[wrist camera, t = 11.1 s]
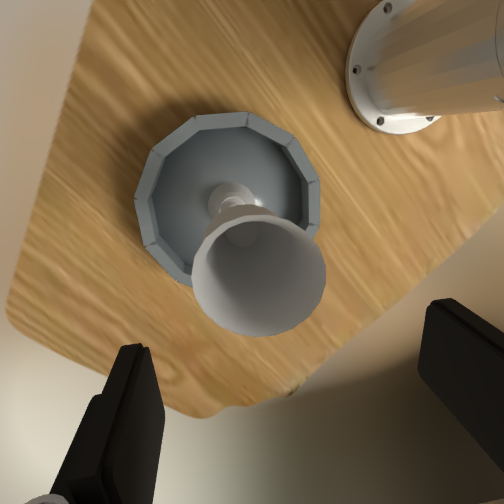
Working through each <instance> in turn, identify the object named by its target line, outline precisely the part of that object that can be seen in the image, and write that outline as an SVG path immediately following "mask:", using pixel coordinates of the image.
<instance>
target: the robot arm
mask: <svg viewBox="0 0 504 504" xmlns="http://www.w3.org/2000/svg"><path fill="white" fill-rule="evenodd" d="M383 9H384V10H385V12H384V10H383ZM353 69H354V70H355V73H353ZM345 80H346V89H347V93H348V97H349V100H350V103H351V105H352V107H353V109H354V111H355V113H356V114H357V115H358V117H359V118H360V119H361V120H362V121H363V122H364V123H365V124H366V125H367V126H369V127H370V128H372V129H374V130H375V131H377V132H380V133H384V134H388V135H404V134H411V133H414V132H417V131H420V130H422V129H424V128H426V127H428V126H430V125H431V124H432V123H434V122H435V121H436V120H437V119H439V118H440V117H441V116H444V115H455V114H466V113H478V112H489V111H500V110H504V0H383V1H381V2H380V3H379V4H378V5H377V6H375V7H374V8H373V9H372V10H371V11H370V12H369V13H368V15H367V16H366V17H365V18H364V19H363V21H362V22H361V24H360V25H359V27H358V29H357V31H356V32H355V34H354V37H353V39H352V42H351V44H350V47H349V51H348V55H347V59H346V69H345ZM377 120H378V123H377V122H376V121H377ZM418 372H419V375H420V377H421V378H422V379H423V380H424V382H425V383H426V384H427V385H428V386H429V387H430V389H431V390H432V391H433V392H434V393H435V394H436V395H437V397H438V398H439V399H440V400H441V401H442V402H443V403H444V405H445V406H446V407H447V408H448V409H449V410H450V411H451V413H452V414H453V415H454V416H455V417H456V418H457V420H458V421H459V422H460V423H461V424H462V425H463V426H464V428H465V429H466V430H467V431H468V432H469V433H470V435H471V436H472V437H473V438H474V439H475V440H476V441H477V443H478V444H479V445H480V446H481V447H482V448H483V449H484V450H485V452H486V453H487V454H488V455H489V456H490V458H491V459H492V460H493V461H494V462H495V463H496V464H497V466H498V467H499V468H500V469H501V470H502V471H503V472H504V333H503V332H501V331H500V330H499V329H497V328H496V327H494V326H493V325H491V324H490V323H488V322H487V321H485V320H484V319H482V318H481V317H479V316H478V315H476V314H475V313H473V312H472V311H471V310H469V309H468V308H466V307H465V306H463V305H462V304H460V303H459V302H457V301H456V300H454V299H452V298H447V299H440V300H434V301H432V302H431V303H430V305H429V306H428V307H427V309H426V316H425V322H424V329H423V335H422V342H421V349H420V355H419V362H418ZM164 424H165V410H164V406H163V402H162V398H161V394H160V390H159V386H158V382H157V378H156V374H155V370H154V366H153V362H152V358H151V354H150V350H149V348H148V347H143V345H142V344H141V343H138V344H131V345H124V346H121V348H120V350H119V352H118V355H117V357H116V360H115V362H114V365H113V367H112V369H111V372H110V374H109V377H108V379H107V382H106V384H105V386H104V389H103V391H102V394H98V395H95V396H94V397H93V398H92V399H91V401H90V403H89V405H88V407H87V409H86V412H85V414H84V416H83V418H82V421H81V423H80V425H79V427H78V430H77V432H76V434H75V436H74V439H73V441H72V443H71V445H70V448H69V450H68V452H67V455H66V457H65V459H64V461H63V464H62V466H61V468H60V470H59V473H58V475H57V477H56V479H55V482H54V484H53V486H52V488H51V491H50V493H49V494H48V495H42V496H39V497H37V498H34V499H32V500H30V501H28V502H27V503H25V504H152V502H153V497H154V490H155V483H156V477H157V470H158V464H159V457H160V450H161V444H162V437H163V431H164ZM482 504H504V499H501V500H496V501H491V502H487V503H482Z"/></svg>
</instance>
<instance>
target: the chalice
mask: <svg viewBox="0 0 504 504" xmlns="http://www.w3.org/2000/svg"><path fill="white" fill-rule="evenodd" d="M208 210H209V214H210V216H211V218H212V220H211V222H210V224H209V225H208V227H207V229H206V230H205V233H204V239H203V243H202V245H201V247H200V248H199V250H198V252H197V253H196V255H195V257H194V263H193V269H192V275H191V279H192V284H193V289H194V294H195V297H196V299H197V301H198V302H199V304H200V306H201V307H202V309H203V311H204V313H205V314H207V315H208V316H209V317H210V318H211V319H212V320H213V321H214V322H216V323H217V324H218V325H219V326H221V327H223V328H225V329H227V330H229V331H232V332H234V333H236V334H241V335H246V336H252V337H262V336H272V335H277V334H280V333H282V332H285V331H288V330H290V329H293V328H294V327H296V326H297V325H298V324H300V323H301V322H302V321H304V320H305V319H306V318H308V317H309V316H310V314H311V313H312V312H313V310H314V309H315V308H316V306H317V305H318V304H319V302H320V300H321V297H322V294H323V291H324V288H325V285H326V265H325V262H324V260H323V257H322V254H321V251H320V249H319V247H318V245H317V244H316V243H315V242H314V241H313V239H312V238H311V237H310V236H309V234H308V233H307V232H306V231H304V230H303V229H301V228H300V227H298V226H297V225H295V224H294V223H292V222H290V221H289V220H285V219H282V218H280V217H279V216H278V215H276V214H275V213H273V212H272V211H270V210H268V209H267V208H264V207H260V206H257V205H255V199H254V196H253V194H252V193H251V191H250V190H249V189H248V188H247V187H245V186H244V185H242V184H240V183H236V182H228V183H224V184H222V185H219V186H218V187H217V188H216V189H215V190H213V192H212V194H211V195H210V197H209V202H208Z"/></svg>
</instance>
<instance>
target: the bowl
mask: <svg viewBox="0 0 504 504" xmlns="http://www.w3.org/2000/svg"><path fill="white" fill-rule="evenodd" d="M195 116H196V120H195V118H194V117H192V118H190V119H189V120H188V121H186V122H185V123H184V124H183V125H181V126H180V127H179V128H177V129H176V130H175V131H173V132H172V133H171V134H170V135H168V136H167V137H166V138H164V139H163V140H162V141H161V142H159V143H158V144H157V145H155V146H154V147H153V148H152V149H153V150H150V153H149V156H148V158H147V161H146V164H145V167H144V170H143V173H142V175H141V178H140V181H139V184H138V187H137V190H136V192H135V195H134V198H135V199H134V204H135V208H136V213H137V217H138V222H139V226H140V231H141V235H142V240H143V244H144V246H146V247H145V249H146V250H147V251H148V252H149V253H150V254H151V255H152V256H153V257H154V258H155V259H156V260H157V262H158V263H159V264H160V265H161V266H162V267H163V268H164V269H165V270H166V271H167V272H168V273H169V275H170V276H171V277H172V278H173V279H174V280H175V281H176V280H177V279H178V280H177V282H178V283H181V284H184V285H187V286H190V287H193V284H192V279H191V275H192V269H193V263H194V257H195V255H196V253H197V252H198V250H199V248H200V247H201V245H202V243H203V239H204V233H205V230H206V229H207V227H208V225H209V224H210V222H211V220H212V218H211V216H210V214H209V210H208V202H209V197H210V195H211V194H212V192H213V190H215V189H216V188H217V187H218V186H219V185H222V184H224V183H228V182H236V183H240V184H242V185H244V186H245V187H247V188H248V189H249V190H250V191H251V193H252V194H253V196H254V199H255V205H257V206H260V207H264V208H267V209H268V210H270V211H272V212H273V213H275V214H276V215H278V216H279V217H280V218H282V219H285V220H289V221H290V222H292V223H294V224H295V225H297V226H298V227H300V228H301V229H303V230H304V231H306V232H307V233H308V234H309V236H310V237H311V238H312V239H313V238H314V236H315V234H316V233H317V231H318V229H319V226H318V225H320V180H319V176H318V174H317V173H316V171H315V169H314V167H313V166H312V164H311V162H310V161H309V159H308V157H307V155H306V154H305V152H304V150H303V149H302V147H301V145H300V143H299V142H298V140H297V138H296V137H294V135H292V134H290V133H289V132H287V131H285V130H283V129H281V128H279V127H277V126H275V125H274V124H272V123H270V122H268V121H266V120H264V119H262V118H261V117H259V116H257V115H255V114H253V113H251V112H249V113H248V111H245V112H233V113H220V114H208V115H195ZM242 127H243V128H242ZM199 131H200V132H199Z"/></svg>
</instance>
